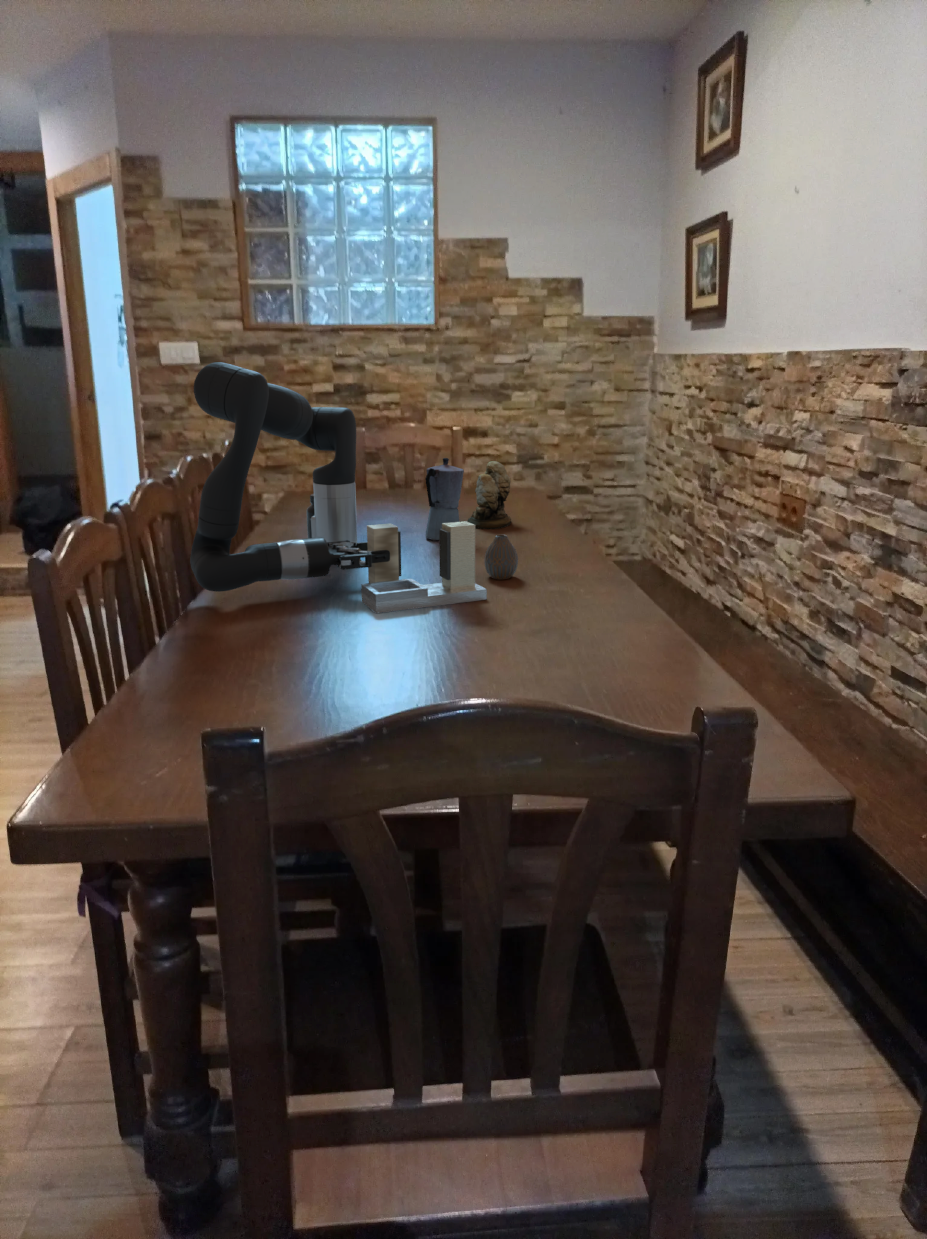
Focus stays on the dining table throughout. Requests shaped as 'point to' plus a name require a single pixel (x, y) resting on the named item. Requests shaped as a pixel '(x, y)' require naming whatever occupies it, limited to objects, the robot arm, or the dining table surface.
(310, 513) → the supplement bottle
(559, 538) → the dining table surface
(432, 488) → the moka pot
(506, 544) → the vase
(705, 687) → the dining table surface
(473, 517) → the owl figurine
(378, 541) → the tall beige block
